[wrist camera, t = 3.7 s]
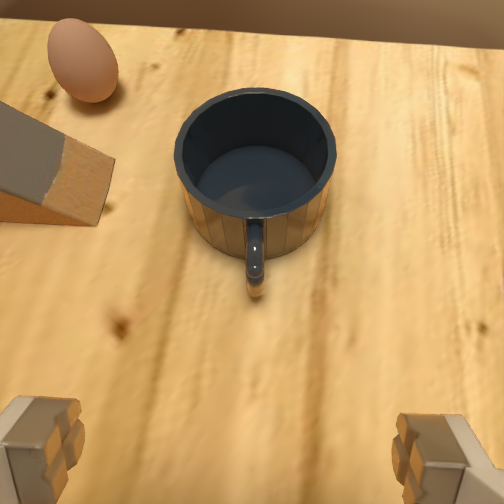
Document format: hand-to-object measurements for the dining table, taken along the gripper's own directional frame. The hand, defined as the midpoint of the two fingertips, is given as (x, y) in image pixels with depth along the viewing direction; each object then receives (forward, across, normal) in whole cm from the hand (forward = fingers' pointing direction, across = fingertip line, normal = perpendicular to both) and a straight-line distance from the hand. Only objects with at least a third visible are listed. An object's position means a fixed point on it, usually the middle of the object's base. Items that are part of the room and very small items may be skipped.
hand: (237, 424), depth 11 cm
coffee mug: (+31, 0, +4) cm, 31 cm away
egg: (+43, +19, -7) cm, 47 cm away
